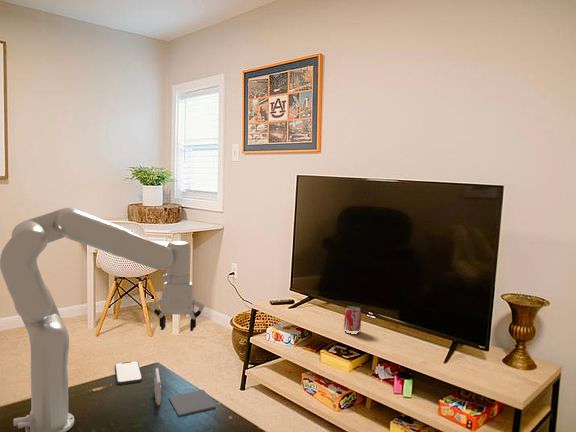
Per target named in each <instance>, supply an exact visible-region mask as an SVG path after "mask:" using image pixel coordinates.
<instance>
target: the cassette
mask: <svg viewBox="0 0 576 432" xmlns="http://www.w3.org/2000/svg"><path fill="white" fill-rule="evenodd" d="M153 382H154V397H155V403H156V405H157V406H160V405H161V401H162V395H161V393H162V385H161V384H162V383H161V377H160V371H159V367H155V370H154V381H153Z"/></svg>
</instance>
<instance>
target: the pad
mask: <svg viewBox="0 0 576 432" xmlns="http://www.w3.org/2000/svg"><path fill="white" fill-rule="evenodd" d="M168 400H169V402H170V403H171V405H172V407H173V409H174V411H175V413H176V415H177V416H178V417H182V416H187V415H190V414H195V413H199V412H203V411H208V410H213V409H216V405H215V403H214V402H213V401H212V400H211V398H210V396H209V395H208V394H207V392H206V390H205V389H201V390H196V391H191V392H186V393H182V394H181V393H180V394H176V395H172V396H168Z"/></svg>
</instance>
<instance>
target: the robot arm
mask: <svg viewBox="0 0 576 432" xmlns="http://www.w3.org/2000/svg"><path fill="white" fill-rule="evenodd" d="M64 238H66V239H68V240H71V241H74V242H77V243H79V244H83V245H86V246H88V247H92V248H95V249H98V250H100V251H102V252H105V253H109V254H111V255H114V256H116V257H121V258H123V259H126V260H129V261H132V262H134V263H137V264H139V265H142V266H145V267H148V268H151V269H154V270H159V271H160V270H161V271H162V270H166V273H165V274H162V276H161V278H162V280H165V282H164V283H163V286H162V293H161V298H160V300H157V301H155V302H153V303H151V308H152V310H153V312H154V313H155V315H156V316H157V317H158V319H159V327H160V330H161V331H164V330H165V328H166V326H167V325H166V323H167V322H166V319H167V318H166V317H167V316H166V315H183V316H185V315H187V316H189V317H190V320H189V321H190V322H189V323H190V325H189V326H190V327H189V331H190V332H193V331H194V329H196V327H197V318H198V316H200V315H201V313H202V312H203V311H204V308H205V304H202V303H201V302H199V301H197V300H195V293H194V287H193V283H192V282H191V251H192V250H191V243H190V242H188V241H184V240H174V241H158V240H157V241H156V240H155V241H154V240H153V241H152V240H149V239H148V238H144V237H142V236H139V235H138V234H136V233H133V232H131V231H130V230H128V229H127V228H124V227H123V226H120V225H118V224H115V223H112V222H110V221H107V220H104V219H102V218H99V217H97V216H94V215H91V214H88V213H86V212H83V211H81V210H79V209H77V208H75V207H64V208H61V209H57V210H55V211H52V212H49V213H45V214H42V215H39V216H36V217H33V218H30V219H27V220H23V221H21V222H19V223H18V224H17V225H15V226H14V228H13V229H12V231H11V238H10V239H9V240H8V241H7V242H6V244H5V246H4V247H3V249H2V251H1V254H0V272H1V276H2V278H3V281H4V282H5V285H6V287H7V290H8V293H9V294H10V296H11V299H12V301H13V303H14V305H13V306H14V308H15V312H16V313H17V314H18V316H19V317H20V319H21V320H22V322H23V325H24V327H25V329H26V330H27V333H28V337H29V339H28V340H29V344H30V345H29V346H30V397H31V398H30V401H31V403H30V405H31V406H30V407H31V409H30V411H29V412H30V413H29V414H26V416H23V417H16V418H15V417H14V418H13V427H16V426H17V429H23V428H25V432H67V431H69V430H70V429H71V428H72V427H73V426H74V424H75V416H74V415H73V414H72V413H70V412H69V351H70V350H69V349H70V336H69V332H68V329H67V327H66V325H65V322H64V321H63V319H62V316H61V314H60V311H59V310H58V307H57V305H56V302H55V300H54V298H53V295H52V292H51V291H50V289H49V287H48V286H47V285H46V283H45V282H44V279H43V277H42V274H41V272H40V269H39V267H38V263H37V261H38V257H39V256H40V254H41V253H42V252H43V251H44V250H45V249H46V248H47V246H48V244H49V243H52V242H55V241H56V242H57V241H58V240H61V239H64ZM158 306H160V308H159V307H158ZM195 307H197V308H198V310H197V311H195V310H194V309H195Z"/></svg>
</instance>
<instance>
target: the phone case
mask: <svg viewBox="0 0 576 432" xmlns="http://www.w3.org/2000/svg"><path fill="white" fill-rule="evenodd" d="M114 374H115V380H116V385H118V386H122V385H128V384H136V383H141V382H143V375H142V370H141V367H140V363H139V362H138V361H137V360H134V361H133V360H132V361H124V362H118V363H115V364H114Z"/></svg>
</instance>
